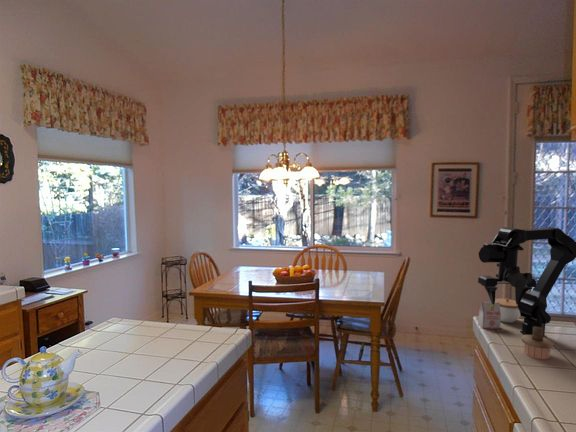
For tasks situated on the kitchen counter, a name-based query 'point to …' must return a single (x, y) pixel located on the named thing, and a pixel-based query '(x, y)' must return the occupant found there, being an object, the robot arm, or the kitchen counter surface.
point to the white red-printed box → (489, 315)
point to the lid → (537, 339)
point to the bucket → (536, 352)
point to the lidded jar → (508, 310)
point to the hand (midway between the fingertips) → (505, 304)
